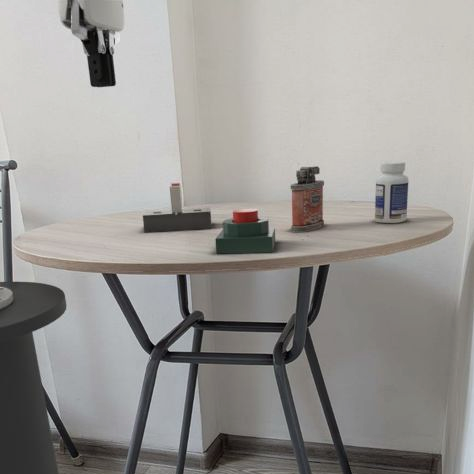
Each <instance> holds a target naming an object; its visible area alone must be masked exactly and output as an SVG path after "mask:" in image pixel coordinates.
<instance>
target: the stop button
mask: <svg viewBox="0 0 474 474" xmlns="http://www.w3.org/2000/svg"><path fill="white" fill-rule="evenodd" d="M258 217H259V211H258V209H257V208H240V209H239V208H238V209H234V210H232V218H233V222H237V223H246V222H256V221H258Z"/></svg>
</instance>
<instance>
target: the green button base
mask: <svg viewBox="0 0 474 474" xmlns="http://www.w3.org/2000/svg"><path fill="white" fill-rule="evenodd" d="M269 223H270V221H269V217H268V218H267V217H264V216H263V217H262V216H258V221H256V222H246V223H237V222H233V217H232V218H228V219H224V220H223V222H222V230H220V232H219V233H218V235H217V236H216V238H215V253H216V255H225V254H227V255H228V254H232V255H233V254H259V253H260V254H261V253H265V254H266V253H267V254H268V253H273V252H274V248H275V244H276V227H270V226H269Z"/></svg>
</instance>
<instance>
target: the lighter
mask: <svg viewBox="0 0 474 474" xmlns="http://www.w3.org/2000/svg"><path fill="white" fill-rule="evenodd" d="M320 174H321V173H320V167H319V166H317V165H316V166H315V165H314V166H301V167H300V169H298V170H296V171H295V177H296V180H297V182H296V183H291V184H290V190H291V221H292V223H291V225H290V230H291V232H293V233H305V232H308V231H313V230H317V229H319V228H323V227H324V225H325V219H324V218H323V217H324V193H323V191H324V186H325V181H324V180H321V179H319V180H316V176H317V175H320Z"/></svg>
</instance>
